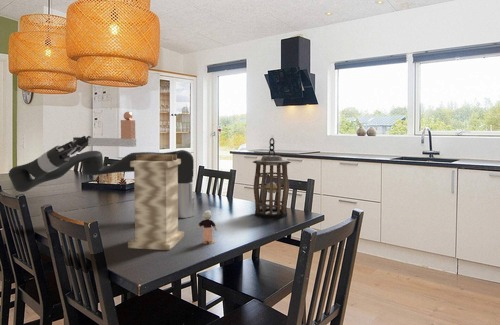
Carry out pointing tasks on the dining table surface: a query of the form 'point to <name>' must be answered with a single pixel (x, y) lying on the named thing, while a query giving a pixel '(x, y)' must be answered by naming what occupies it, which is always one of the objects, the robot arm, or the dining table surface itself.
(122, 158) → the robot arm
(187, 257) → the dining table surface
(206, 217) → the grandmother figurine
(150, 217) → the display stand
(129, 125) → the rod
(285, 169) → the lantern
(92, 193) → the dining table surface
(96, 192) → the dining table surface
